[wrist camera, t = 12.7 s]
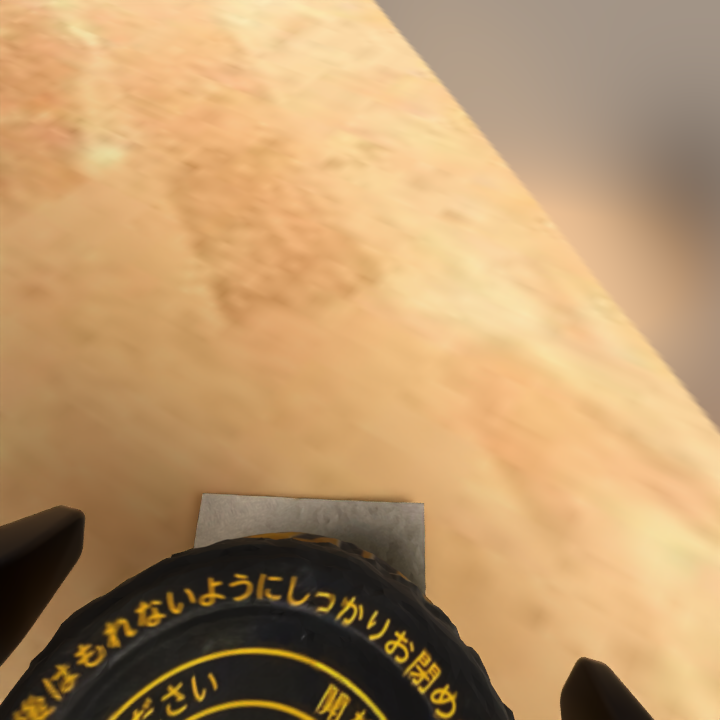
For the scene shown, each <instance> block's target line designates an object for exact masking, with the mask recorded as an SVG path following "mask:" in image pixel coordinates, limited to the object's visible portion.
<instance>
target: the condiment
mask: <svg viewBox="0 0 720 720" xmlns="http://www.w3.org/2000/svg"><path fill="white" fill-rule="evenodd" d="M425 588H426V586H425V527H424V503H407V502H401V503H397V502H372V501H350V500H325V499H305V498H300V499H294V498H284V497H268V496H240V495H229V494H208V493H203V495H202V501H201V507H200V512H199V517H198V523H197V530H196V537H195V543H194V548H193V549H190V550H187V551H184V552H181V553H177V554H173V555H172V556H171V557H170V558H166V559H164V560H162V561H160V562H159V563H157V564H155V565H153V566H151V567H150V568H148V569H146V570H144V571H143V572H141V573H139V574H138V575H136V576H134V577H132V578H130V579H128V580H126V581H125V582H123V583H122V584H120V585H119V586H118V587H116V588H115V589H114V590H112V591H111V592H109V593H107V594H106V595H103V596H101V597H99V598H97V599H95V600H93V601H91V602H90V603H88V604H87V605H85V606H84V607H82V608H81V609H79V610H77V611H76V612H74V613H73V614H72V615H71V616H70V617H69V618H68V619H66V620H65V621H64V622H63V623H62V624H61V626H60V627H59V629H58V630H57V632H56V633H55V635H54V637H53V638H52V640H51V641H50V642H49V644H48V645H47V646H46V647H45V649H44V650H43V651H42V652H40V653H39V654H38V655H37V656H36V657H35V658H34V659H33V660H32V661H31V663H30V666H29V668H28V670H27V671H26V672H25V673H24V674H23V676H22V677H21V678H20V680H19V681H18V682H17V683H16V685H15V686H14V687H13V689H12V690H11V691H10V693H9V694H8V696H7V697H6V698H5V700H4V701H3V703H2V704H1V705H0V720H515V719H514V716H513V712H512V711H511V710H510V709H509V708H508V707H507V706H506V705H505V704H504V703H502V701H501V699H500V698H499V696H498V695H497V693H496V691H495V690H494V688H493V686H492V685H491V682H490V679H489V676H488V674H487V672H486V669H485V667H484V665H483V663H482V661H481V659H480V657H479V655H478V654H477V653H476V651H475V650H474V649H473V648H472V647H468V646H466V645H465V644H464V643H463V641H462V640H461V639H460V637H459V634H458V631H457V628H456V626H455V625H454V624H452V622H451V621H450V619H449V618H448V617H447V616H446V615H445V613H444V612H443V611H442V610H441V609H440V608H439V607H437V606H435V605H433V603H432V602H431V601H430V600H429V599H428V598H427V597H426V596H425Z"/></svg>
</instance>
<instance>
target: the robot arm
mask: <svg viewBox="0 0 720 720" xmlns="http://www.w3.org/2000/svg"><path fill="white" fill-rule="evenodd" d="M84 525H85V515H84V513H83V512H82V511H81V510H78V509H75V508H71V507H68V506H63V505H61V506H57V507H54V508H51V509H48V510H45V511H42V512H40V513H37V514H34V515H31V516H28V517H25V518H23V519H20V520H17V521H14V522H11V523H9V524H6V525H3V526H0V667H1V665H2V664H3V663H4V662H5V661H6V659H7V658H8V657H9V656H10V655H11V653H12V652H13V651H14V650H15V648H16V647H17V646H18V645H19V643H20V642H21V641H22V640H23V638H24V637H25V635H26V634H27V633H28V631H29V630H30V629H31V627H32V626H33V624H34V623H35V622H36V620H37V619H38V617H39V616H40V614H41V613H42V611H43V610H44V609H45V607H46V606H47V604H48V603H49V601H50V600H51V599H52V597H53V596H54V594H55V593H56V591H57V590H58V588H59V587H60V586H61V584H62V583H63V581H64V580H65V578H66V577H67V576H68V574H69V573H70V571H71V570H72V568H73V567H74V565H75V564H76V563H77V561H78V559H79V557H80V555H81V552H82V549H83V539H84ZM560 708H561V718H562V720H654V719H653V718H652V717H651V715H650V714H649V713H648V712H647V711H646V710H645V708H644V707H643V706H642V705H641V704H640V703H639V701H638V700H637V699H636V698H635V697H634V696H633V695H632V693H631V692H630V691H629V690H628V689H627V688H626V686H625V685H624V684H623V683H622V682H621V681H620V679H619V678H618V677H617V676H616V675H615V674H614V672H613V671H612V670H611V669H610V668H609V667H608V666H607V665H606V664H604V663H602V662H599V661H596V660H593V659H589V658H586V657H581V658H580V659H578V660H577V662H576V663H575V665H574V667H573V669H572V671H571V673H570V675H569V677H568V679H567V681H566V683H565V685H564V687H563V689H562V692H561V697H560Z"/></svg>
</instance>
